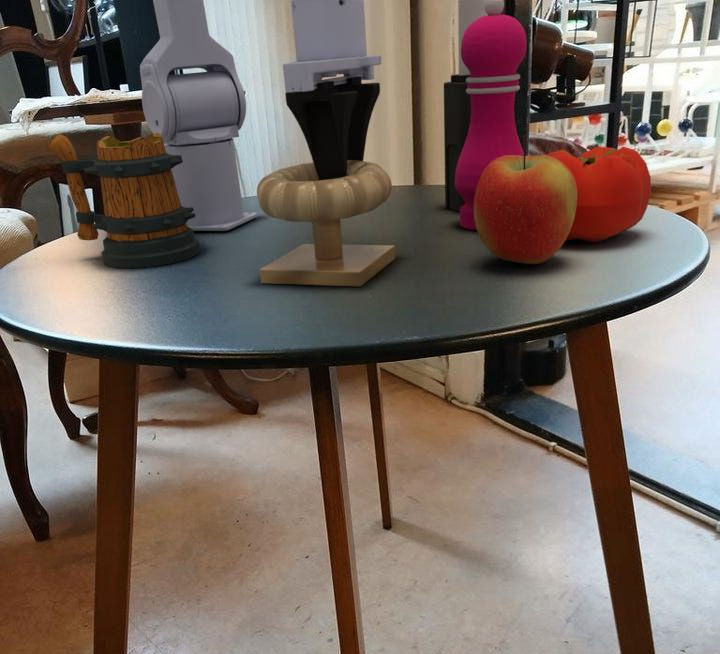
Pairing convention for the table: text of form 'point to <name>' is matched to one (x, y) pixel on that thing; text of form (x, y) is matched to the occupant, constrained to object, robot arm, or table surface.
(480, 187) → the apple
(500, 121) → the pepper mill
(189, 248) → the mug
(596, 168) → the tomato
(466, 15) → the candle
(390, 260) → the peg stand
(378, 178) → the ring
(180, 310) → the table surface
